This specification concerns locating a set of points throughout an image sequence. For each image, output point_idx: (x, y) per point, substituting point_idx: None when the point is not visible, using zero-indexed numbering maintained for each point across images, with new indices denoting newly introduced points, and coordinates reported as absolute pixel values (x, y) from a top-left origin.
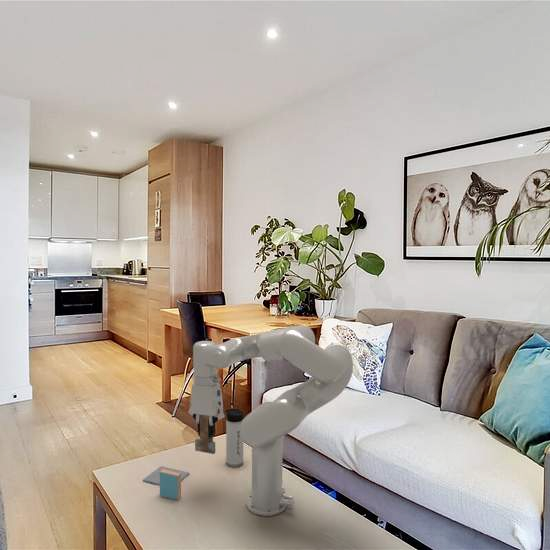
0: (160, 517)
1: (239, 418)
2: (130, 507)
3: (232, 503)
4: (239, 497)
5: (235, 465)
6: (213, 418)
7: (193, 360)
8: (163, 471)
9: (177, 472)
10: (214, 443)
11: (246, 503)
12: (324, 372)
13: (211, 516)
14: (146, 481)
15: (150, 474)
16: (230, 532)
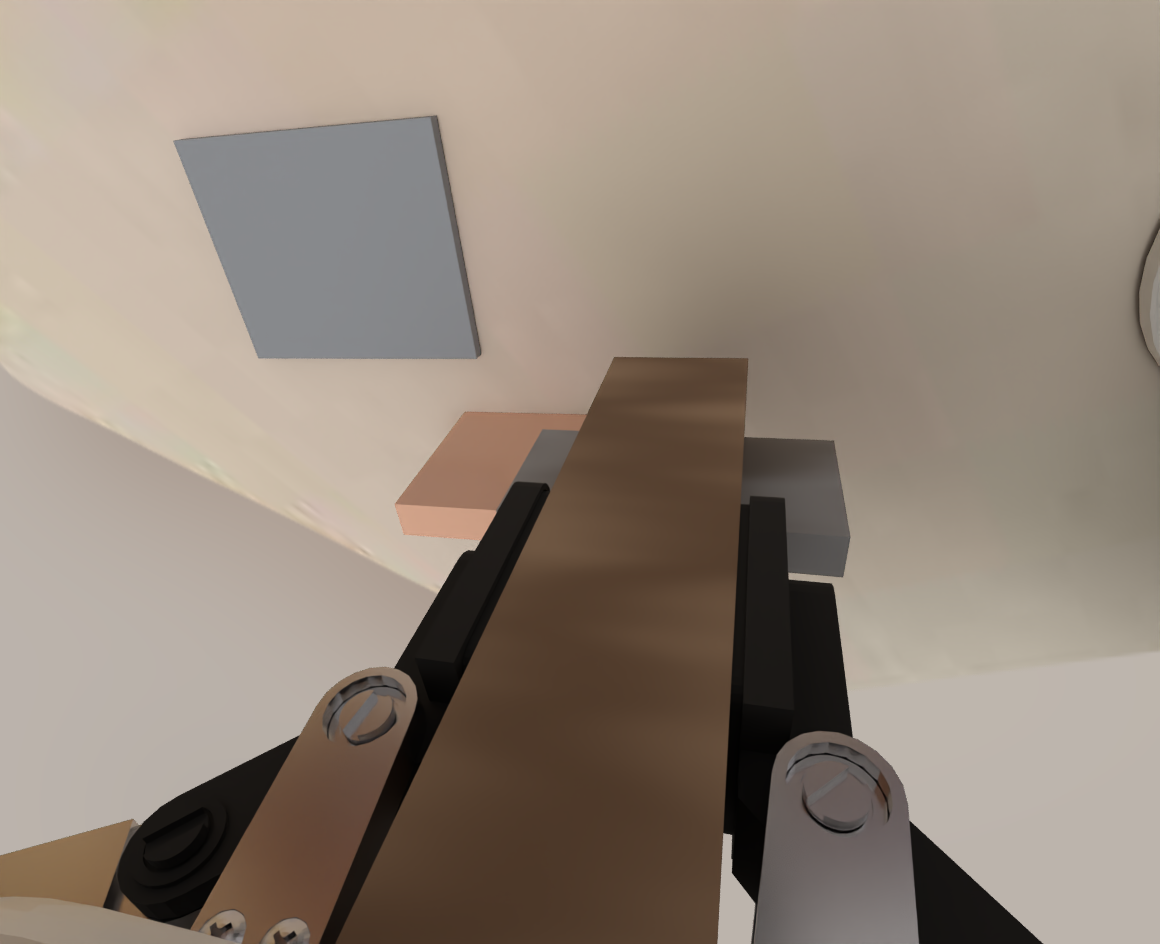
0: None
1: None
2: (430, 557)
3: (997, 345)
4: (1042, 248)
5: None
6: (800, 911)
7: None
8: (427, 528)
9: (350, 166)
10: (845, 550)
11: (1140, 322)
12: None
13: (887, 507)
14: (287, 356)
15: (233, 284)
16: (1064, 588)
